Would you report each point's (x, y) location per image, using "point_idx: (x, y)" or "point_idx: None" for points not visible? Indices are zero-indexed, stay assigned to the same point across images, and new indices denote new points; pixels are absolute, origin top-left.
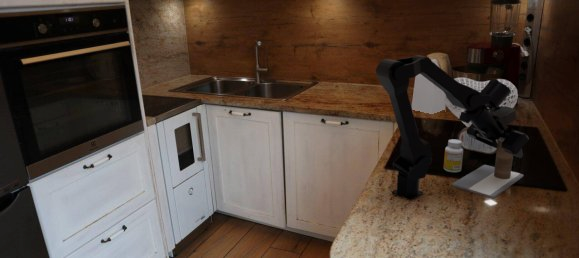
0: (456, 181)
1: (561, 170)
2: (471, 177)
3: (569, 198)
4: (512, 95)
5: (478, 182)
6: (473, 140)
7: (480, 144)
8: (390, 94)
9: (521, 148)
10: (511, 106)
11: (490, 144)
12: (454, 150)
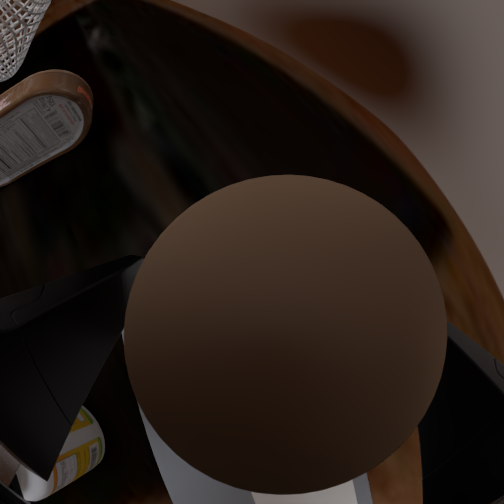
0: None
1: (315, 84)
2: (192, 477)
3: (485, 276)
4: None
5: (255, 499)
6: (1, 153)
7: (28, 145)
8: None
9: (497, 367)
10: None
11: (103, 354)
12: (33, 497)
